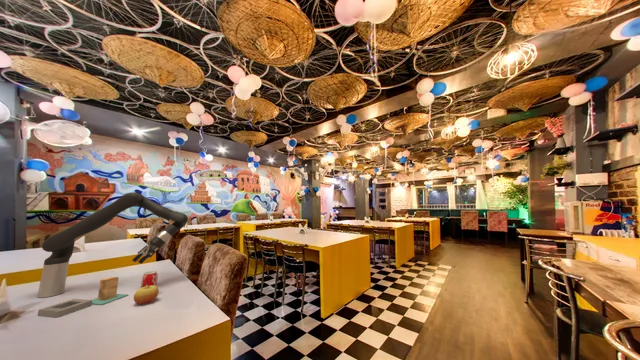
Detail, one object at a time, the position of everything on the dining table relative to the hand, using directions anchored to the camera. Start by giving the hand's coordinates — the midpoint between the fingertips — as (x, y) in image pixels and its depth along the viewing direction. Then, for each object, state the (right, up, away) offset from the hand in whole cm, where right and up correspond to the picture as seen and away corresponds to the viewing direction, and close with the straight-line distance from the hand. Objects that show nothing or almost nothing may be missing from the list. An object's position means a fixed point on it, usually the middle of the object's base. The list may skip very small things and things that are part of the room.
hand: (136, 262), depth 122 cm
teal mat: (-5, -15, -12) cm, 20 cm away
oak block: (-5, -15, -12) cm, 20 cm away
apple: (+19, -15, -16) cm, 29 cm away
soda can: (+13, -16, -7) cm, 22 cm away
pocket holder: (-13, -14, -24) cm, 30 cm away
